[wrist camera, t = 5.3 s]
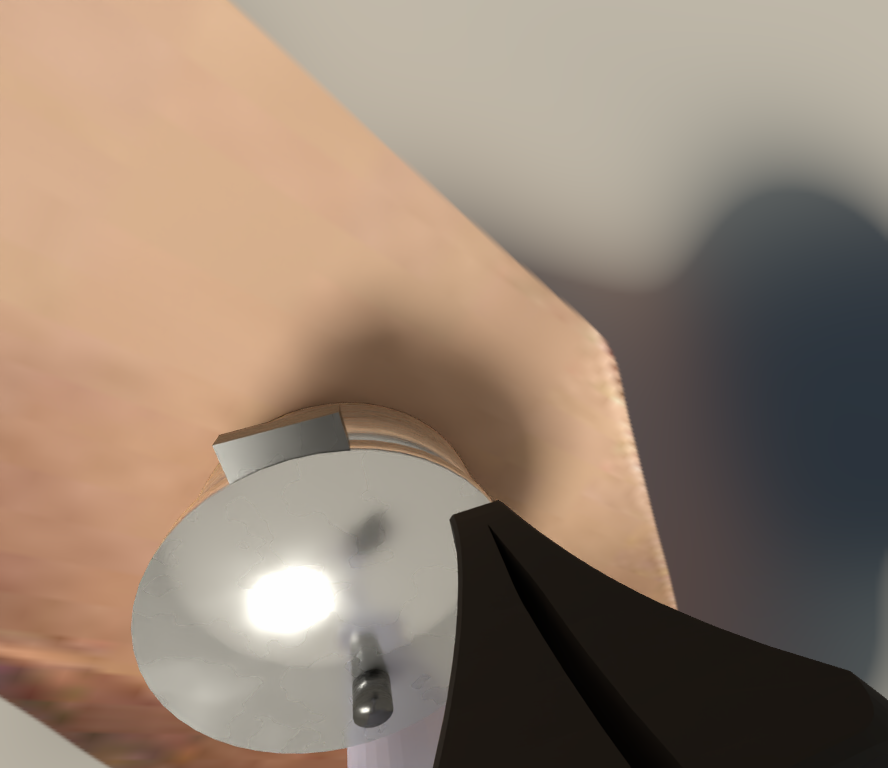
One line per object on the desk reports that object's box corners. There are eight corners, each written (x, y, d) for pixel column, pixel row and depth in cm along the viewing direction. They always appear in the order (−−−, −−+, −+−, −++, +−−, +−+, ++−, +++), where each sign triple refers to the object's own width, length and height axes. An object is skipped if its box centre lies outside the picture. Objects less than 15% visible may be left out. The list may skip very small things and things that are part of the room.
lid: (528, 657, 21) (549, 701, 19) (229, 772, 18) (216, 838, 16) (480, 365, 15) (502, 384, 13) (45, 479, 13) (-10, 522, 11)
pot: (492, 594, 25) (522, 662, 21) (259, 677, 23) (241, 771, 19) (449, 370, 20) (477, 402, 16) (142, 450, 18) (82, 511, 14)
